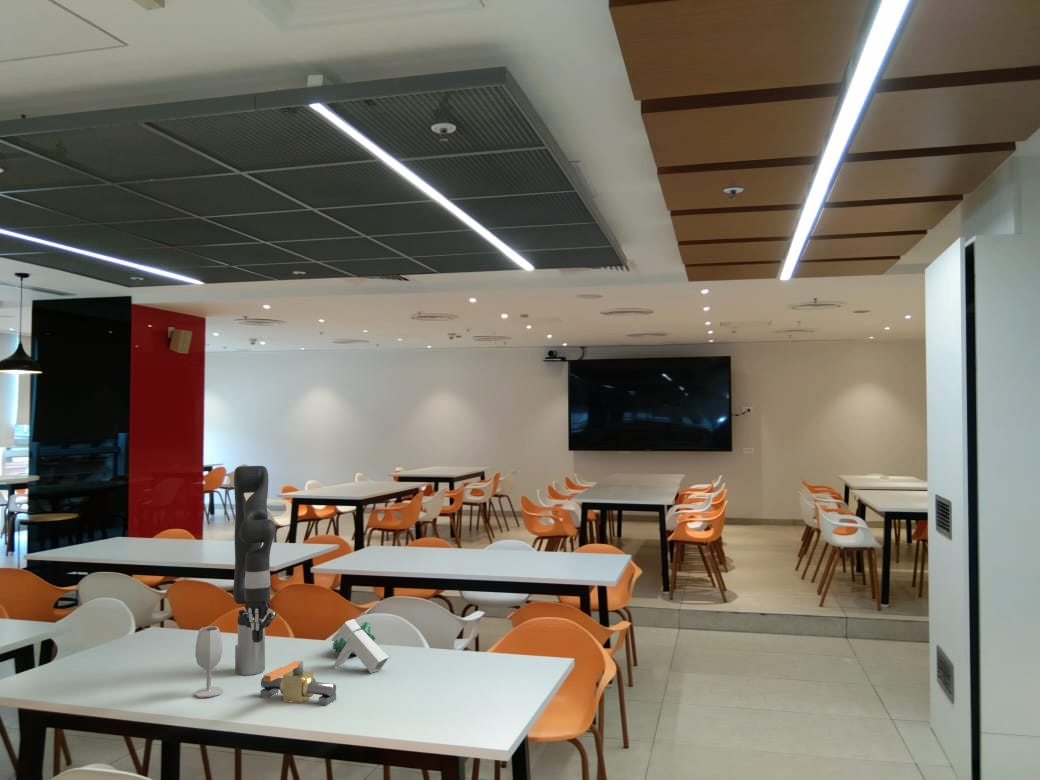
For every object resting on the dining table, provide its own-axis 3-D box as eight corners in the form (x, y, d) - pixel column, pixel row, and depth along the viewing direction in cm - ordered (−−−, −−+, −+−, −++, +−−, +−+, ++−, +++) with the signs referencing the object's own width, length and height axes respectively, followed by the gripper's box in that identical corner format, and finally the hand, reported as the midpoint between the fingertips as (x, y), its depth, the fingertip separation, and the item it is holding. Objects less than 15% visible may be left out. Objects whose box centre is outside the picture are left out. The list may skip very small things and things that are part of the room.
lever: (296, 670, 241) (296, 658, 241) (305, 671, 240) (305, 659, 240) (262, 687, 225) (262, 675, 225) (271, 688, 224) (271, 676, 224)
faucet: (379, 661, 260) (343, 620, 267) (355, 694, 264) (320, 653, 271) (389, 656, 266) (354, 616, 273) (366, 688, 269) (332, 648, 277)
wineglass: (195, 700, 238) (195, 633, 239) (193, 692, 246) (193, 627, 247) (224, 695, 242) (224, 629, 243) (221, 687, 250) (221, 623, 251)
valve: (258, 697, 240) (258, 672, 240) (270, 691, 246) (270, 666, 246) (327, 706, 231) (327, 680, 232) (338, 699, 237) (338, 674, 237)
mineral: (337, 646, 296) (337, 621, 296) (377, 644, 297) (377, 619, 298) (330, 660, 277) (330, 633, 278) (373, 658, 279) (373, 631, 279)
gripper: (231, 586, 230) (231, 643, 229) (267, 588, 225) (267, 647, 224) (248, 581, 237) (248, 637, 236) (283, 583, 232) (283, 640, 231)
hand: (257, 641), depth 230 cm, fingers closed
